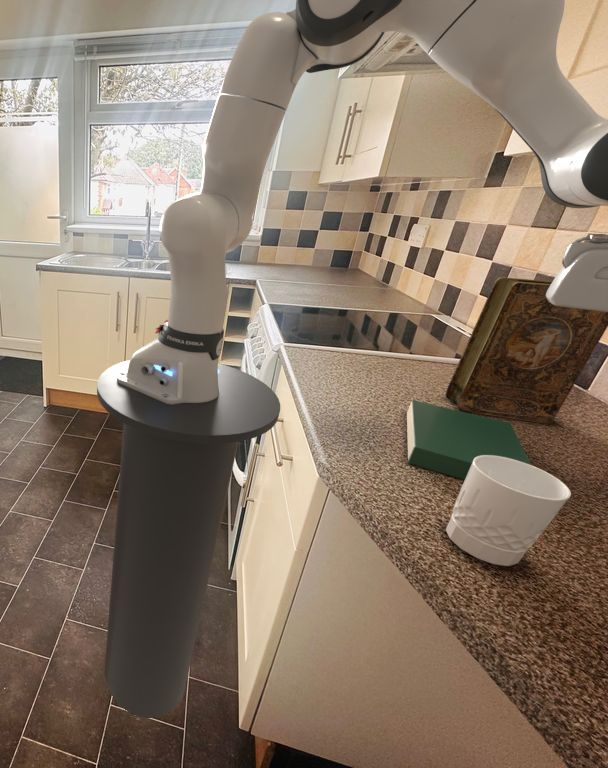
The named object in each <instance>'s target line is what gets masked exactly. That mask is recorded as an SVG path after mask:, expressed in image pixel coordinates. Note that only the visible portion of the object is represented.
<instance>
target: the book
mask: <svg viewBox="0 0 608 768" xmlns="http://www.w3.org/2000/svg"><path fill="white" fill-rule="evenodd" d="M552 282H553V280H540V279H527V278H516V277H515V278H514V277H503V276H501V277H498V278H497V279H495V281H494V282H493V284H492V287H491V289H490V291H489V293H488V295H487V298H486V301H485V302H484V304H483V306H482V309H481V312H480V313H479V315H478V318H477V321H476V322H475V325H474V327H473V328H472V332H471V334H470V336H469V339H468V340H467V343H466V345H465V347H464V349H463V352H462V354H461V356H460V359H459V361H458V363H457V365H456V368H455V369H454V372H453V374H452V377H451V379H450V381H449V383H448V386H447V387H446V390H445V398H446V399H447V400H449V401H451V402H454V403H455V404H456V409H457V410H458V411H461V412H466V413H471V414H476V415H486V416H490V417H498V418H504V419H512V420H518V421H526V422H530V423H531V422H532V423H538V424H546V425H551V424H553V422H554V420H555V419H556V417H557V415H558V414H559V412H560V410H561V408H562V407H563V405H564V403H565V402H566V399H567V398H568V396H569V395H570V393H571V391H572V389H573V388H574V386H575V384H576V382H577V381H578V379H579V377H580V375H581V373H582V372H583V370H584V369H585V367H586V365H587V363H588V361H589V360H590V358H591V356H592V355H593V353H594V351H595V349H596V347H598V344H599V343H600V341H601V339H602V337H603V336H604V334H605V333H606V330H607V329H608V312H603V311H595V310H586V309H578V308H570V307H561V306H555V305H553V304H551V303H550V302H549V301H548V299H547V297H546V293H547V290H548V289H549V287H550V285H551V283H552Z"/></svg>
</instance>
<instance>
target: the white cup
mask: <svg viewBox="0 0 608 768" xmlns="http://www.w3.org/2000/svg"><path fill="white" fill-rule="evenodd" d="M571 496H572V492H571V490H570V488H569V487H568V486H567V485H566V483H564V482H563V481H562V480H560V479H559V478H557V477H556V476H554V475H553V474H550V473H549V472H547V471H545V470H543V469H541V468H539V467H536V466H534V465H532V464H531V465H529V464H526V463H524V462H521V461H517V460H514V459H510V458H506V457H501V456H494V455H481V456H477V457H475V458H474V460H473V462H472V464H471V467H470V469H469V471H468V474H467V476H466V478H465V480H464V481H463V483H462V485H461V487H460V490H459V492H458V496H457V498H456V500H455V502H454V506H453V508H452V513H451V516H450V519H449V521H448V524H447V526H446V528H445V532H446V534H447V536H448V538H449V540H450V541H451V542H452V543H453V544H455V545H456V546H457V547H458V548H459V549H460V550H462V551H463V552H465V553H467V554H469V555H471V556H472V557H474V558H476V559H478V560H480V561H484V562H486V563H489V564H492V565H496V566H504V567H511V566H513V565H516V564H519V563H520V561H521V560H522V558H523V557H524V556H525V554H526V553H527V551H528V550H529V549H530V548H531V547H532V546H533V545H534V544H535V543H536V542H537V541H538V539H539V538H540V536H542V535H543V534H544V532H545V531H546V530H547V528H548V527H549V526H550V524H551V523H552V521H554V519H555V518H556V516H558V514H559V512H560V511H561V509H563V507H564V506H565V504H567V501H569V500H570V498H571Z"/></svg>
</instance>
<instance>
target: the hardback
mask: <svg viewBox="0 0 608 768" xmlns="http://www.w3.org/2000/svg"><path fill="white" fill-rule="evenodd" d="M406 432H407V433H406V435H407V438H406V439H407V461H408V464H410V465H414V466H417V467H420V468H423V469H426V470H431V471H433V472H437V473H440V474H442V475H443V474H444V475H446V476H451V477H452V478H453V477H454V478H457V479H460V480H464V481H465V478H466V476H467V474H468V471H469V469H470V467H471V464H472V462H473V460H474V458H475V457H477V456H481V455H494V456H501V457H506V458H510V459H514V460H517V461H521V462H524V463H526V464H529V465H532V463H531V461H530V459H529V457H528V455H527V454H526V451H525V450H524V447H523V445H522V443H521V441H520V439H519V438H518V437H519V436H518V435H517V432H516V431H515V430H514V428H513V425H512V423H511V422H507V421H504V420H499V419H495V418H491V417H486V416H483V415H479V414H475V413H471V412H467V411H461V410H458V409H452V408H448V407H445V406H440V405H436V404H431V403H426V402H422V401H419V400H414V399H412V401H411V402H410V405H409V407H408V409H407V412H406Z"/></svg>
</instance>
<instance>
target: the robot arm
mask: <svg viewBox="0 0 608 768" xmlns="http://www.w3.org/2000/svg"><path fill="white" fill-rule="evenodd" d="M565 1H566V0H296V1H295V8H294V9H293V10H291V11H288V12H287V11H286V12H280V11H276V12H275V11H273V12H267V13H265V14H262V15H259V16H257V17H256V18H255V19H253V20H251V22H250V23H249V24H248V25H247V27H246V29H245V30H244V32H243V34H242V36H241V38H240V40H239V42H238V44H237V46H236V49H235V51H234V53H233V55H232V58H231V60H230V63H229V65H228V67H227V70H226V73H225V75H224V78H223V81H222V84H221V86H220V90H219V93H218V96H217V99H216V102H215V106H214V108H213V112H212V116H211V119H210V122H209V125H208V129H207V131H206V135H205V138H204V141H203V144H202V153H201V154H202V159H203V168H202V169H203V170H202V178H201V186H200V190H199V192H193V193H190V194H187V195H185V196H183V197H181V198H179V199H177V200H175V201H173V202H172V203H170V205H168V207H167V208H166V209H165V210H164V212H163V214H162V216H161V218H160V221H159V237H160V241H161V243H162V246H163V247H164V249H165V250H166V252H167V256H168V265H169V272H170V273H169V274H170V299H169V308H168V317H167V319H166V320H164V323H161V324H159V326H157V327H156V328H155V332H154V334H158V336H157V338H155V339H154V340H152V341H150V342H148V343H146V344H144V345H143V346H142V347H140V348H138V349H137V350H136V351H134V353H132V356H131V357H130V359H129V360H130V362H129V366H128V367H126V368H124V369H123V370H122V371H120V372H119V374H118V376H117V382H118V383H120V384H122V385H125V386H127V387H129V388H131V389H134V390H136V391H138V392H141V393H143V394H145V395H148V396H150V397H152V398H154V399H157V400H159V401H161V402H164V403H166V404H170V405H173V404H180V403H203V402H208V401H211V400H214V399H216V398H217V397H218V396H219V386H218V373H219V370H218V363H219V358H220V356H221V354H222V350H223V345H224V340H225V339H224V336H225V330H224V323H225V322H224V321H225V317H226V310H227V304H228V300H229V294H230V293H229V291H230V289H229V286H228V284H227V278H226V277H227V275H226V274H227V273H226V258H227V254H228V253H230V252H233V251H234V250H236V249H237V248H238V247H240V246H241V245H242V244H243V243H244V242H245V241H246V240H247V238H248V237H249V235H250V233H251V231H252V227H253V217H254V212H255V209H256V205H257V203H258V197H259V193H260V188H261V184H262V179H263V176H264V173H265V169H266V165H267V163H268V159H269V158H270V154H271V152H272V149H273V147H274V143H275V140H276V138H277V135H278V133H279V131H280V128H281V125H282V123H283V120H284V117H285V116H286V112H287V110H288V107H289V104H290V102H291V99H292V96H293V94H294V92H295V89H296V87H297V85H298V84H299V81H300V79H301V77H302V76H303V75H304V74H305V73H308V74H313V73H318V72H324V71H330V70H338V69H342V68H347V67H349V66H353V65H354V64H356V63H358V62H360V61H362V60H363V59H364V58H365V57H366V56H368V55H370V53H371V52H372V51H373V50H374V49H375V48H376V46H377V45H378V44H379V43H380V41H381V39H383V37H384V35H385V33H387V32H397V33H400V34H401V33H402V34H404V35H406V36H407V37H408V38H410V39H413V40H414V41H415V42H416V43H417V45H418V46H419V47H420V48H421V49H422V50H423V51H424V52H425V53H426V54H427V56H429V58H430V59H431V60H432V61H433V62H435V63H436V65H437V66H438V67H440V68H441V69H442V70H444V72H446V73H447V74H448V75H449V76H451V77H452V78H453V79H455V80H456V81H457V82H459V83H461V84H462V85H463V86H465V87H466V88H468V89H469V90H470V91H472V92H473V93H474V94H475V95H477V96H478V97H480V98H481V99H482V100H483V101H485V102H486V103H488V104H489V105H490V106H492V107H493V109H495V111H496V112H498V114H499V115H500V116H501V117H502V118H503V120H504V121H505V122H506V123H507V124H508V125H509V126H510V127H511V129H512V130H514V132H515V133H516V134H517V135H518V137H520V138H521V140H522V141H523V142H524V143H525V144H526V146H528V148H529V149H530V151H532V152H533V154H534V156H535V157H536V158H537V162H538V165H539V170H540V178H541V184H542V188H543V190H544V193H545V194H546V196H547V197H548V198H549V199H550V200H551V201H553V203H556V204H558V205H560V206H562V207H565V208H571V209H589V208H590V209H591V208H596V207H601V206H602V207H604V206H605V207H606V206H607V207H608V118H605V117H603V116H601V115H599V114H598V113H597V112H596V110H595V109H594V108H593V107H592V106H591V104H589V103H588V102H587V100H585V98H584V97H583V96H582V95H581V94H580V92H579V91H578V90H577V89H576V88H575V87H574V86H573V84H572V83H571V82H570V81H569V80H568V78H566V76H565V75H564V73H563V71H562V70H561V68H560V66H559V63H558V58H557V56H558V55H557V45H558V36H559V32H560V27H561V24H562V21H563V16H564V13H565V12H564V11H565V4H566V3H565ZM584 241H587V242H584ZM561 264H562V267H561V268H560V270H559V271H558V273H556V275H555V276H554V279H553V280H552V281H553V282H552V283H551V285H550V287H549V289H548V290H547V293H546V297H547V299H548V301H549V302H550V303H551V304H553V305H555V306H561V307H570V308H578V309H586V310H595V311H603V312H608V234H606V233H592V234H590V235H589V236H583V237H581V238H578V239H576V240H574V241H572V243H570V244H569V246H568V247H567V248H566V250H565V253H564V254H563V257H562V260H561Z"/></svg>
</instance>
